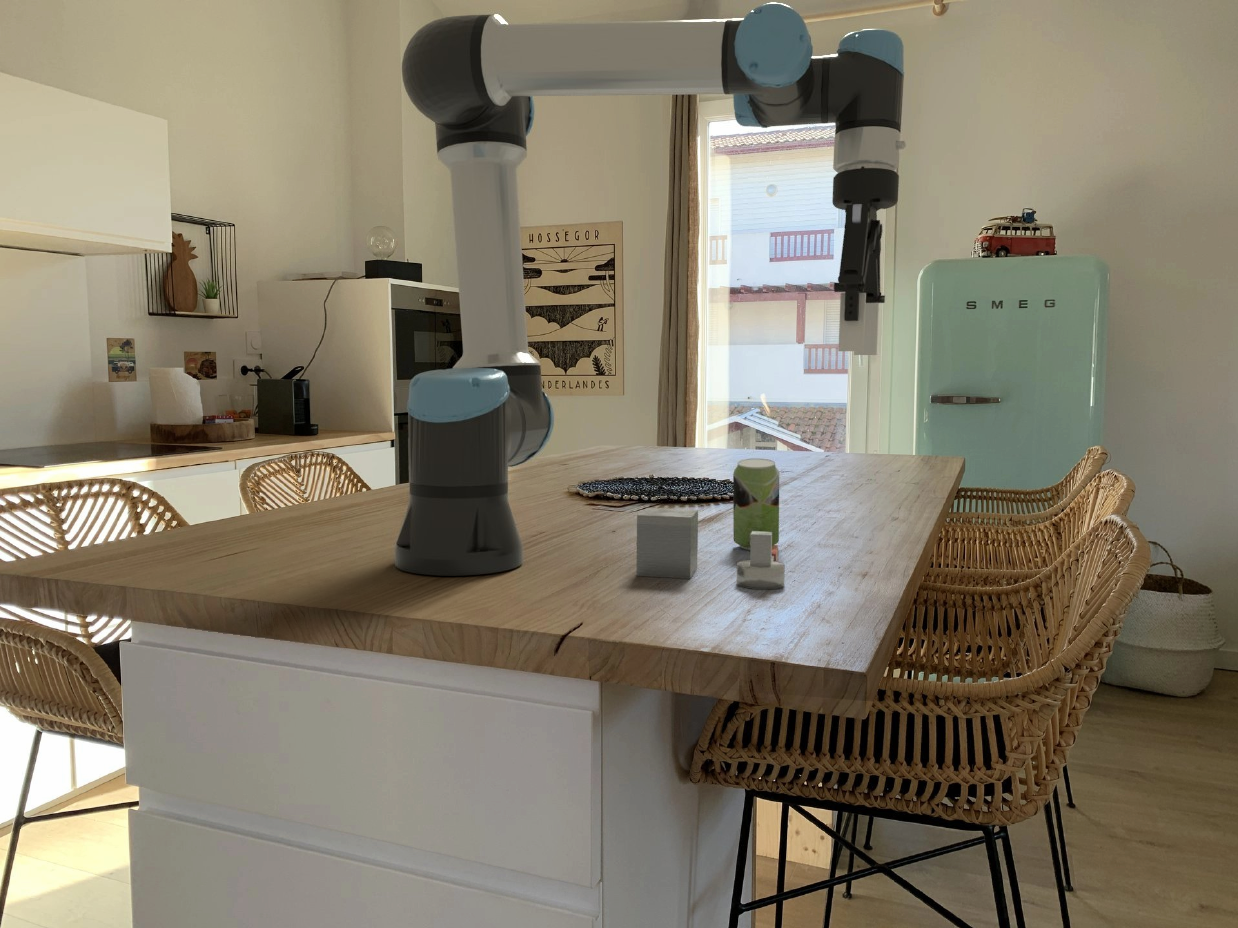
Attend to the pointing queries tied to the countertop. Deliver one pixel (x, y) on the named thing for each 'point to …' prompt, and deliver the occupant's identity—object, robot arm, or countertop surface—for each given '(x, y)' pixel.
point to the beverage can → (755, 500)
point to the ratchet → (761, 564)
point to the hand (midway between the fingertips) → (858, 353)
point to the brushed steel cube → (667, 543)
